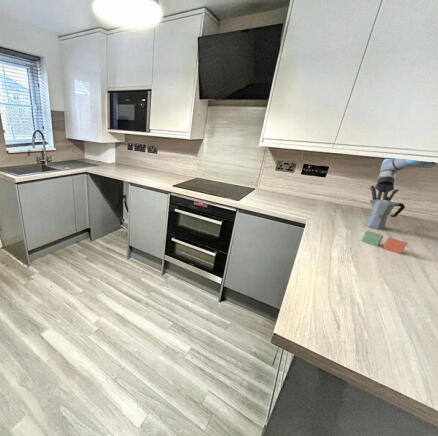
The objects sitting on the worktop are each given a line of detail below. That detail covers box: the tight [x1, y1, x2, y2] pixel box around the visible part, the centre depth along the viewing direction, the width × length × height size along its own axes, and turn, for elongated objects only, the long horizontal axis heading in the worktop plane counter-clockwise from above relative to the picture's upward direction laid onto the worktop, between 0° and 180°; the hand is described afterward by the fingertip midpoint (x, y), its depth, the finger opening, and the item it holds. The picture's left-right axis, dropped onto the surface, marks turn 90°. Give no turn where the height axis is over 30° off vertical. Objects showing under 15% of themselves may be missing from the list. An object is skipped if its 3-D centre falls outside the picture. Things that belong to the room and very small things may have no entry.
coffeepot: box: [363, 196, 406, 231], centre depth 132 cm, size 15×9×18 cm, turn 64°
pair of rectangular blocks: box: [361, 230, 408, 255], centre depth 110 cm, size 14×3×5 cm, turn 33°
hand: (378, 210), depth 142 cm, fingers closed
